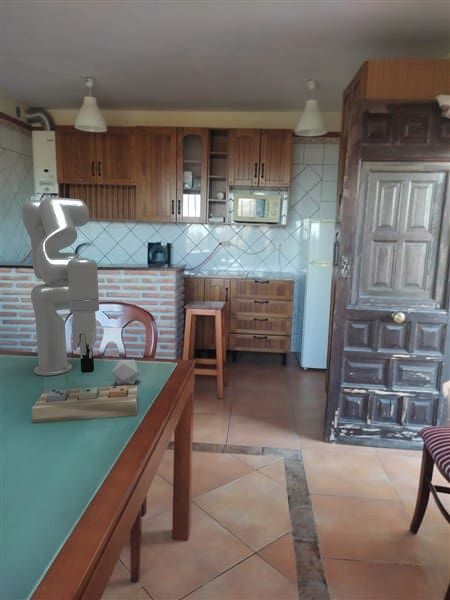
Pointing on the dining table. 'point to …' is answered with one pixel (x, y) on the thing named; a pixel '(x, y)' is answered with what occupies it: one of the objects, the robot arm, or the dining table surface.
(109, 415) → the button board
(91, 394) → the button one
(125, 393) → the button two
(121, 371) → the die
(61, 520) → the dining table surface
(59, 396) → the button three
